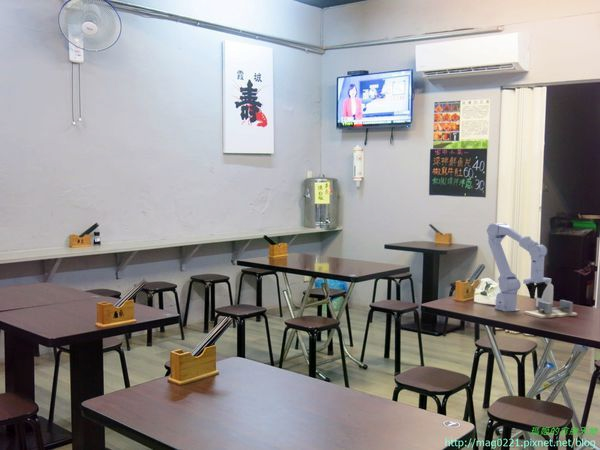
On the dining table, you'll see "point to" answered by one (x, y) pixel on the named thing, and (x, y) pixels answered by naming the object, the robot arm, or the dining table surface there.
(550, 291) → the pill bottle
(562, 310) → the bolt board
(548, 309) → the grey block with hole
